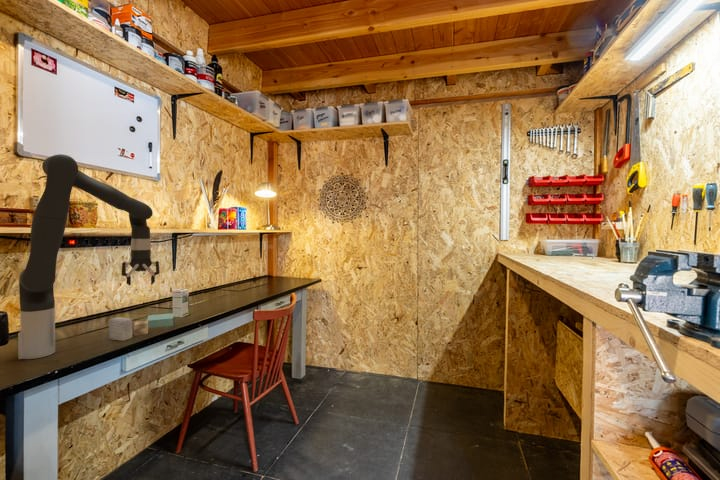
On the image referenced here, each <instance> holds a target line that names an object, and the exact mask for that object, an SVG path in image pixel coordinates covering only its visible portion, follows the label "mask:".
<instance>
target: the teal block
mask: <svg viewBox="0 0 720 480" xmlns="http://www.w3.org/2000/svg"><path fill="white" fill-rule="evenodd" d="M146 321H148V329H153V328H154V329H155V328H163V327H174V317H173V312H172V313H162V314H161V313H160V314H151V315H150V314H148V315H147V319H146Z"/></svg>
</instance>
